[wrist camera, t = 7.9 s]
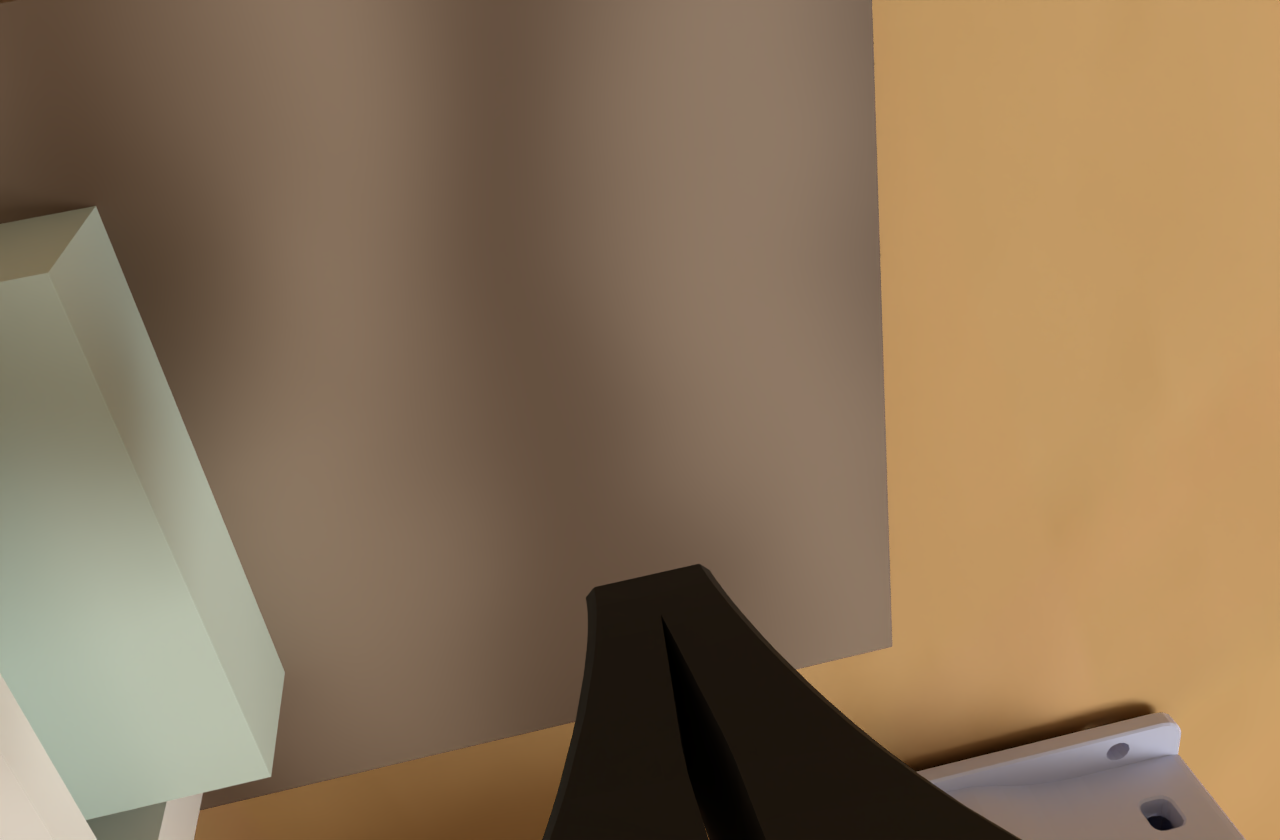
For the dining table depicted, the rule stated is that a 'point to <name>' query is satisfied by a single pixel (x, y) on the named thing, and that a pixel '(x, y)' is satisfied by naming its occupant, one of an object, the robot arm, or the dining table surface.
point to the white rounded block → (68, 795)
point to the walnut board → (488, 322)
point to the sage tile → (115, 545)
